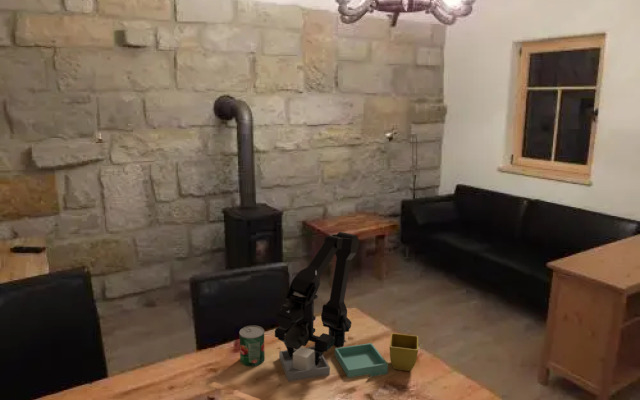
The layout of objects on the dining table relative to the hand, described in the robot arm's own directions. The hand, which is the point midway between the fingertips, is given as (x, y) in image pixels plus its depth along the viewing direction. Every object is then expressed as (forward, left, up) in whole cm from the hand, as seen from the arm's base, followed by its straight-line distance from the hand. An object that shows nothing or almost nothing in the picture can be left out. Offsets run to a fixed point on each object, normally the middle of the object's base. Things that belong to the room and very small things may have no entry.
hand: (303, 360), depth 148 cm
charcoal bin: (0, 0, -3) cm, 3 cm away
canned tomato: (-8, -15, -3) cm, 17 cm away
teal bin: (+3, +18, -3) cm, 18 cm away
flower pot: (+7, +31, -3) cm, 32 cm away
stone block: (0, 0, -2) cm, 2 cm away
